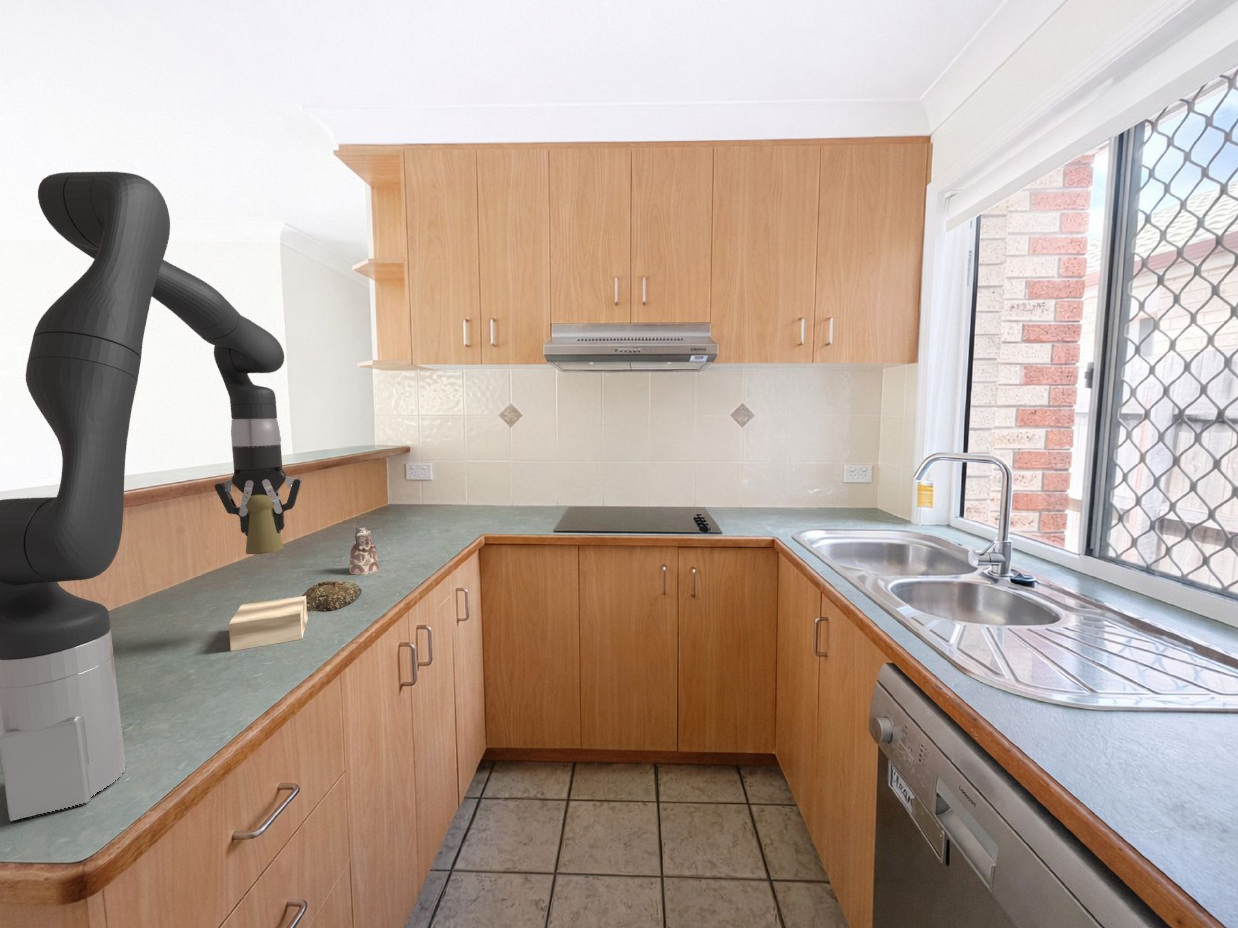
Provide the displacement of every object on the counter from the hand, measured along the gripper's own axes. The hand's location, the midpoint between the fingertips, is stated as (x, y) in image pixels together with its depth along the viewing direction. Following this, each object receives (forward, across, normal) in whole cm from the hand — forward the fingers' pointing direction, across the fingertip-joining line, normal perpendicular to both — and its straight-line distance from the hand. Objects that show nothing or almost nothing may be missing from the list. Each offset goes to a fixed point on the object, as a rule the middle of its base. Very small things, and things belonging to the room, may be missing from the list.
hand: (263, 533), depth 100 cm
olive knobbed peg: (+3, 0, 0) cm, 3 cm away
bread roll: (+20, +9, +16) cm, 27 cm away
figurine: (+20, +16, +38) cm, 46 cm away
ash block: (+20, 0, 0) cm, 20 cm away
